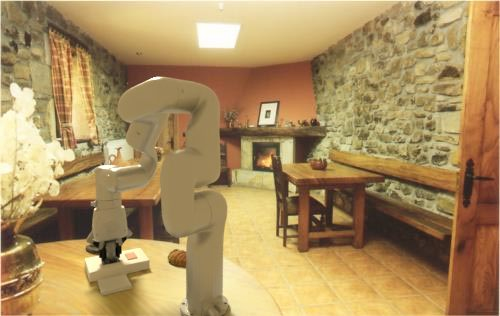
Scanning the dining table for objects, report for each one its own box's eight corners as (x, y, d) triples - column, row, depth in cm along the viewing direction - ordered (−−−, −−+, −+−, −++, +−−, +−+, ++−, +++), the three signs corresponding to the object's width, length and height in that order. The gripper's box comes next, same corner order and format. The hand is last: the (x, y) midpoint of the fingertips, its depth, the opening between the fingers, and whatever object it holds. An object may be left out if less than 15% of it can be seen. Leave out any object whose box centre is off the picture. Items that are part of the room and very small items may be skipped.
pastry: (197, 263, 111) (197, 253, 111) (182, 270, 106) (182, 259, 105) (180, 256, 117) (180, 246, 116) (165, 262, 112) (164, 251, 111)
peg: (118, 264, 104) (117, 240, 103) (105, 267, 102) (104, 243, 101) (116, 259, 107) (115, 237, 106) (103, 262, 105) (102, 239, 104)
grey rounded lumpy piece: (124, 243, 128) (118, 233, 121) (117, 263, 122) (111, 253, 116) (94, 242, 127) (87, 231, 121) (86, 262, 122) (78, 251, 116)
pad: (131, 288, 93) (131, 285, 93) (101, 295, 89) (101, 292, 89) (125, 276, 100) (125, 273, 100) (97, 283, 95) (97, 280, 95)
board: (149, 268, 106) (149, 259, 105) (89, 282, 96) (89, 271, 96) (140, 255, 116) (140, 246, 115) (84, 266, 106) (84, 257, 106)
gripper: (80, 209, 95) (83, 268, 97) (138, 203, 104) (139, 256, 106) (78, 204, 101) (80, 259, 103) (133, 198, 110) (134, 249, 112)
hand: (110, 257), depth 104 cm, fingers closed on peg, 4 cm apart
